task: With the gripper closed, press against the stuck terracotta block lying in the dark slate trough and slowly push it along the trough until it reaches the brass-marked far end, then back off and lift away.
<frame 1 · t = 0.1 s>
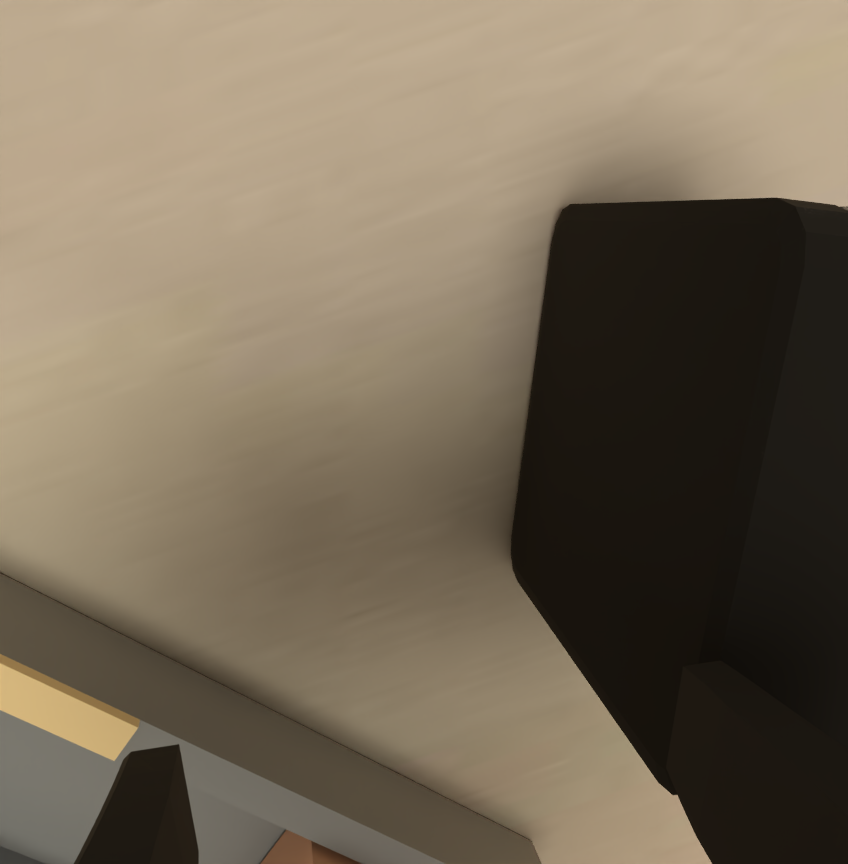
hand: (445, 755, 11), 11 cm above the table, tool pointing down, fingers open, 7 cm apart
electronic device: (596, 398, 22), on the table
trough: (211, 811, 23), on the table
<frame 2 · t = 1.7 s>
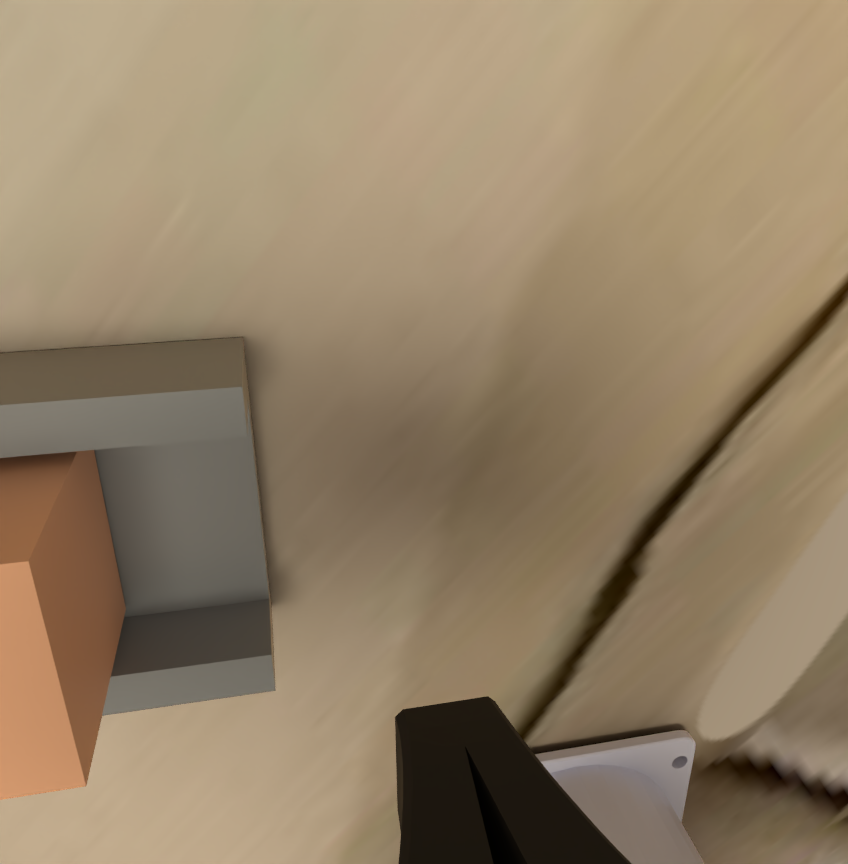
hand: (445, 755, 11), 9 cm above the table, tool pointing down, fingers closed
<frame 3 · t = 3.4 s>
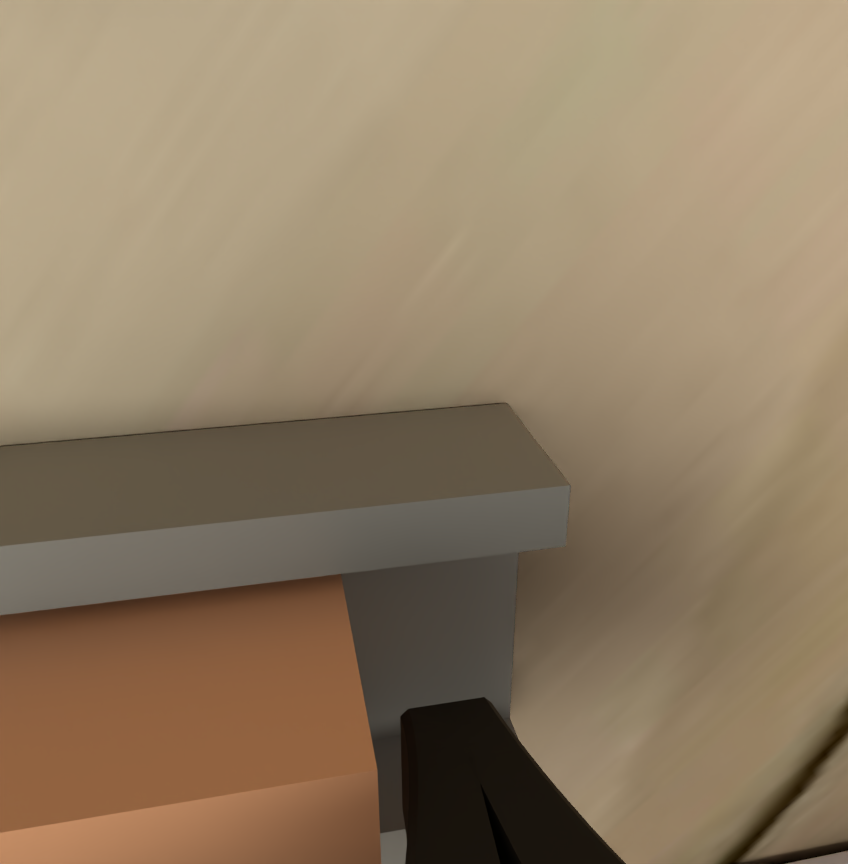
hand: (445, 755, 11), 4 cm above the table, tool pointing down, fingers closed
block: (190, 775, 11), point 4 cm above the table, slide at 0.0 cm, touching gripper
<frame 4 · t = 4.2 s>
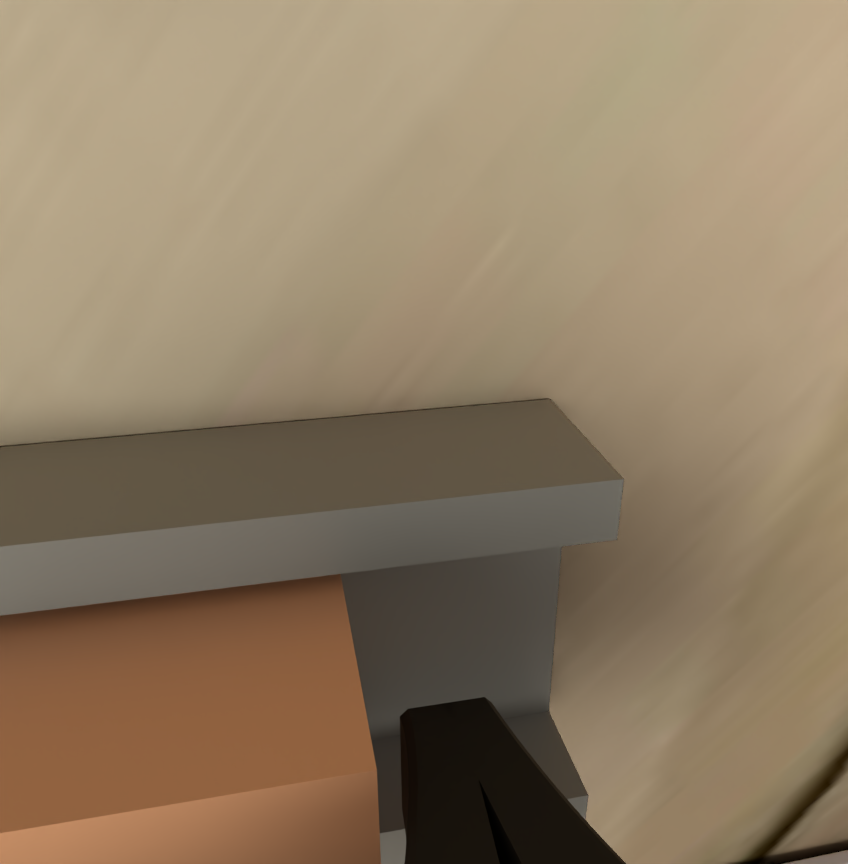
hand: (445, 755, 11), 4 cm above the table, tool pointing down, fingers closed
block: (190, 775, 11), point 4 cm above the table, slide at 0.8 cm, touching gripper
trough: (10, 639, 14), on the table
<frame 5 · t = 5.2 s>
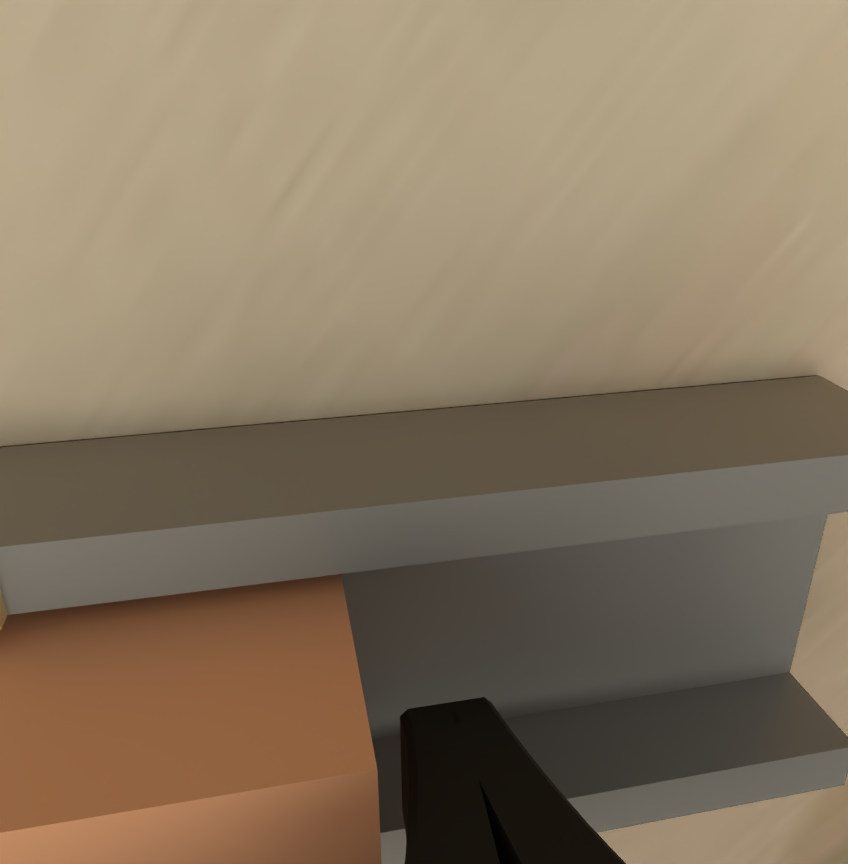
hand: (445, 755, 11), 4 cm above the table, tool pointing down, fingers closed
block: (191, 775, 11), point 4 cm above the table, slide at 6.0 cm, touching gripper
trough: (318, 599, 14), on the table
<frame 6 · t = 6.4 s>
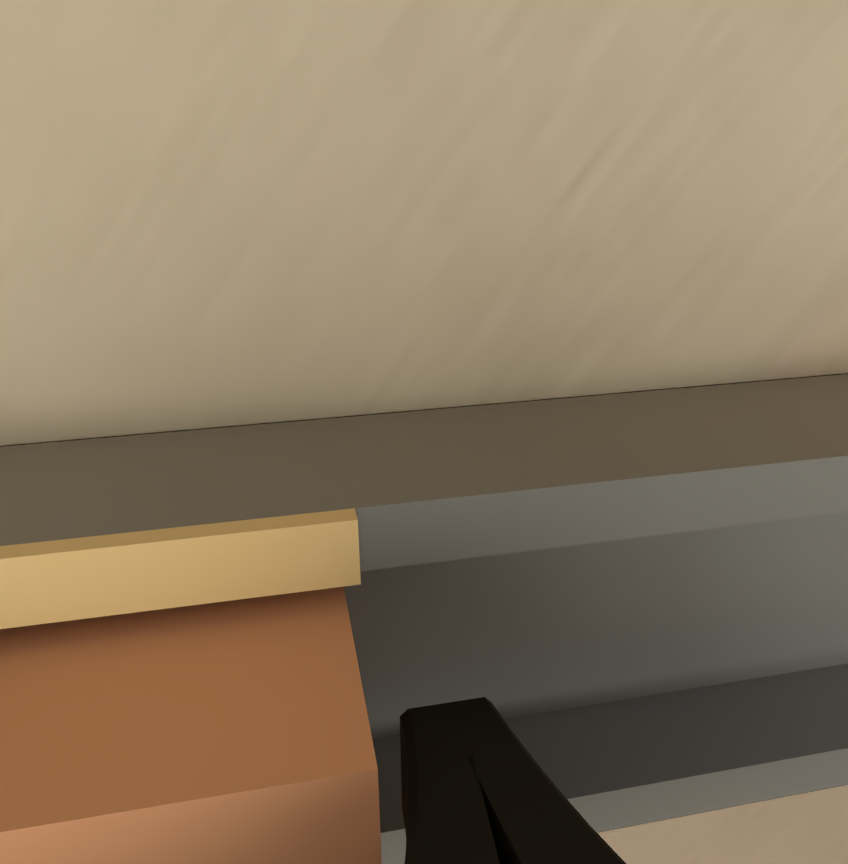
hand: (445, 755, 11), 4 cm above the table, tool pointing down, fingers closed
block: (191, 774, 11), point 4 cm above the table, slide at 10.5 cm, touching gripper
trough: (549, 570, 15), on the table
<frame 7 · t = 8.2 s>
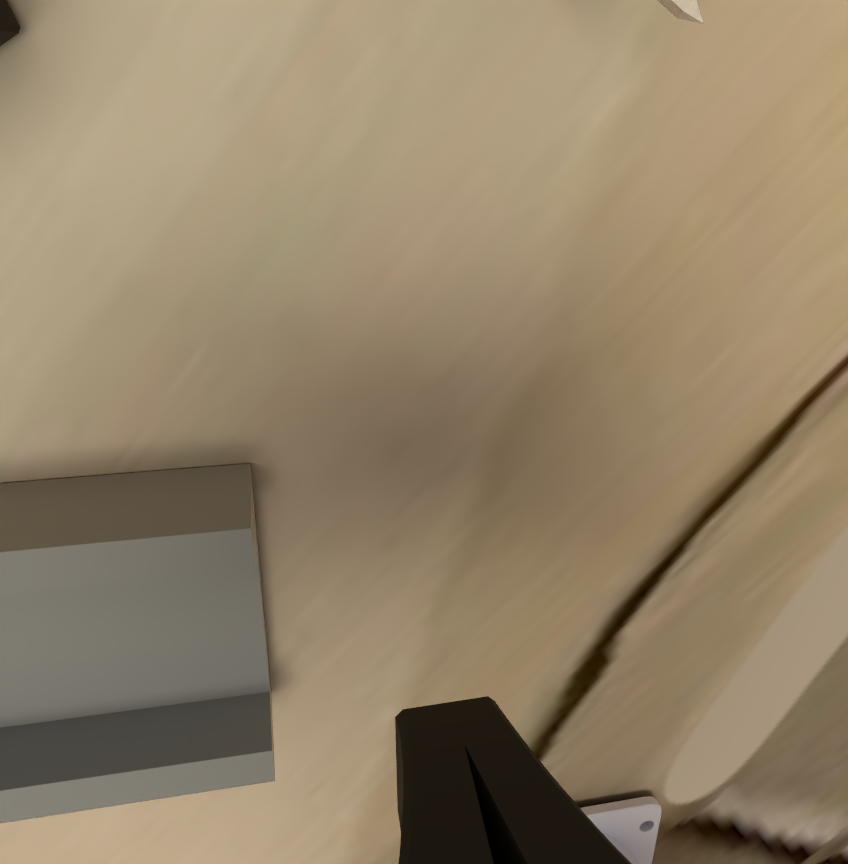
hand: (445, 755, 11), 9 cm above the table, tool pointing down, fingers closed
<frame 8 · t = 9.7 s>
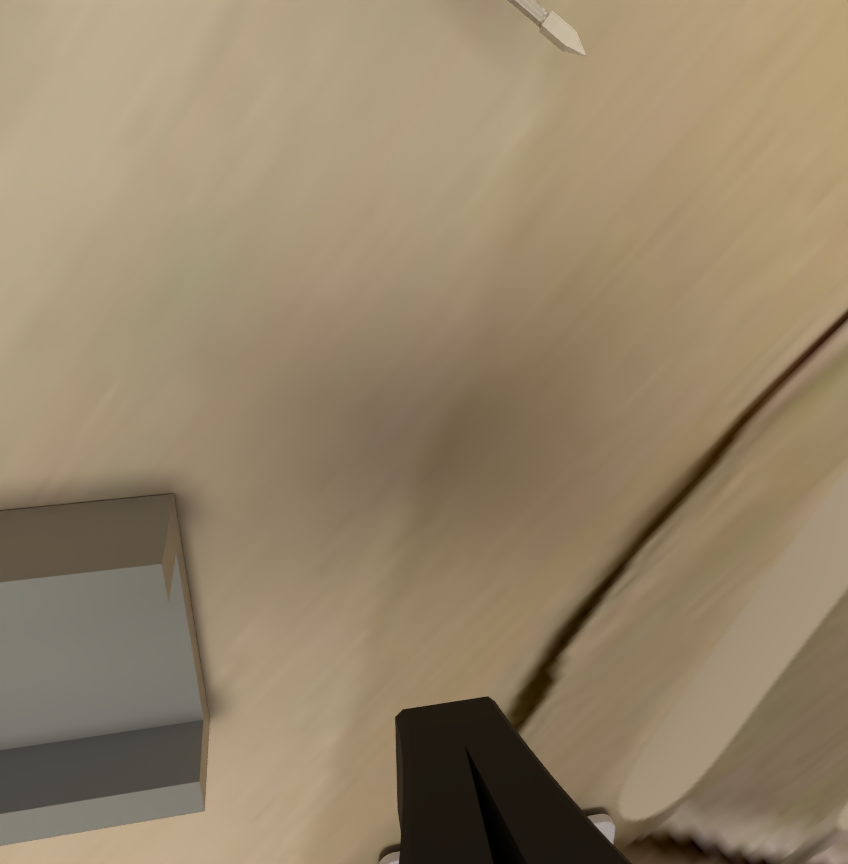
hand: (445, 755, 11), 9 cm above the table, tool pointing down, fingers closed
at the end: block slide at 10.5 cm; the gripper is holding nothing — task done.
